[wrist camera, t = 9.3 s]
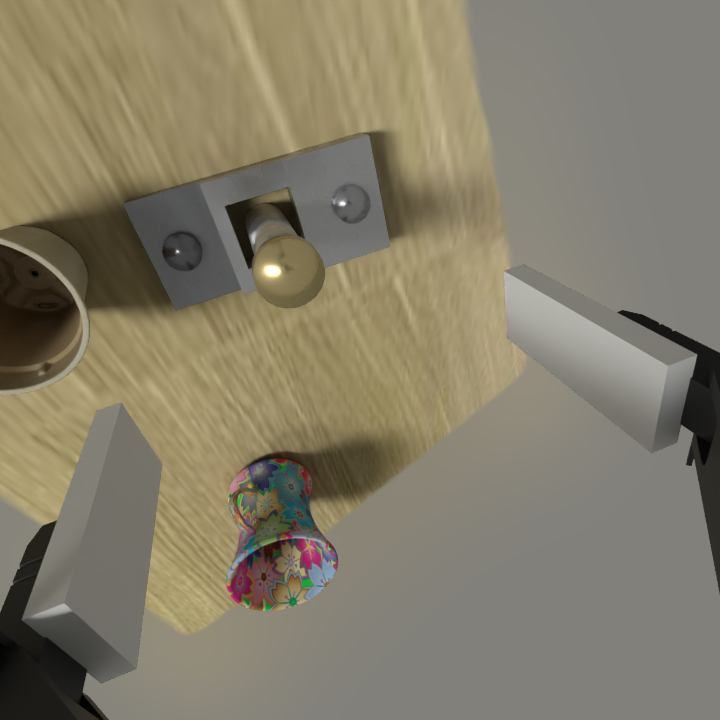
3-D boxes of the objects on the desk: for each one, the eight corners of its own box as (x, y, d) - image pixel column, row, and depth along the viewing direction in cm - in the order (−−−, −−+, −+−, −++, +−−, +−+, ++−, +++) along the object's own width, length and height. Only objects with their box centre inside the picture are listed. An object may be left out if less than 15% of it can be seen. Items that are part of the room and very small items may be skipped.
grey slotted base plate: (125, 200, 31) (117, 209, 28) (359, 132, 33) (371, 135, 30) (176, 304, 35) (174, 320, 32) (380, 238, 37) (393, 248, 35)
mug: (329, 487, 49) (356, 572, 40) (256, 530, 49) (266, 625, 40) (270, 416, 42) (286, 499, 34) (185, 466, 42) (179, 562, 34)
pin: (232, 205, 33) (242, 251, 23) (282, 191, 33) (314, 229, 23) (250, 255, 35) (267, 317, 25) (297, 240, 35) (332, 295, 25)
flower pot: (51, 173, 29) (-1, 197, 22) (142, 296, 34) (125, 349, 27) (-87, 238, 28) (-187, 284, 21) (27, 352, 34) (-22, 421, 26)
